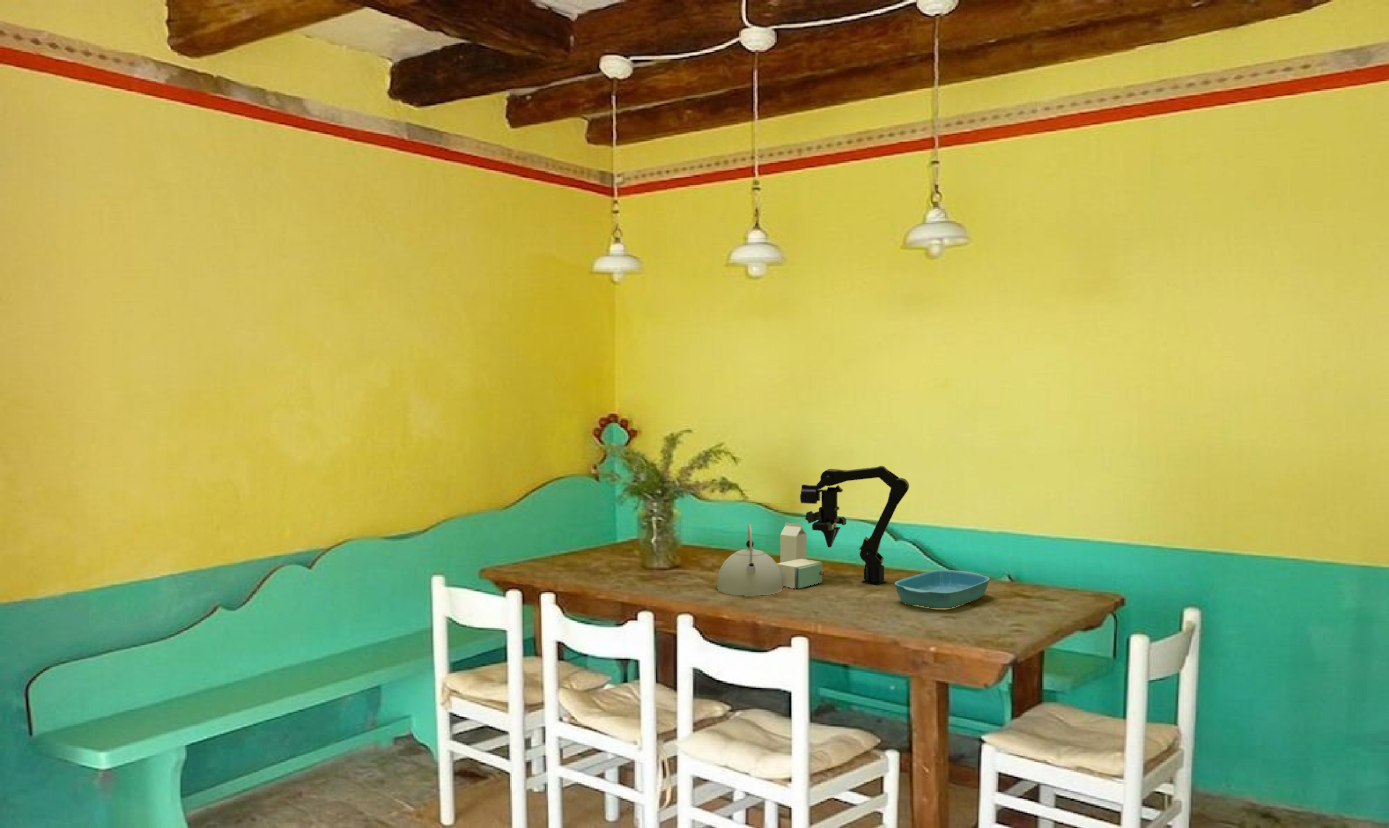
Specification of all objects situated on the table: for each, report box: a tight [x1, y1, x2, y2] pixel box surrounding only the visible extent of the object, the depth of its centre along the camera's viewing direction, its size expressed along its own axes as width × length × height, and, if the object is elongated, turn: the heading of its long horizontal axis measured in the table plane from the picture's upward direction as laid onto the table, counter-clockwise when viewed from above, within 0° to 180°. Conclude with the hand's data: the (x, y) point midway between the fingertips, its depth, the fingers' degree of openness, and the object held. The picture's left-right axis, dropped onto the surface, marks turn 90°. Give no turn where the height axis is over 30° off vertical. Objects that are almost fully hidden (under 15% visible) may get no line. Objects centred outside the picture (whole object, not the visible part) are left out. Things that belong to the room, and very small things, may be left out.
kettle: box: [716, 523, 783, 597], centre depth 344 cm, size 25×23×22 cm
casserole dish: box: [894, 569, 990, 608], centre depth 327 cm, size 37×22×7 cm, turn 137°
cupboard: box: [776, 558, 822, 589], centre depth 353 cm, size 9×14×8 cm, turn 134°
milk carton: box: [779, 522, 807, 563], centre depth 370 cm, size 7×7×19 cm
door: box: [798, 563, 825, 589], centre depth 349 cm, size 12×2×7 cm, turn 136°
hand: (829, 547), depth 359 cm, fingers closed
